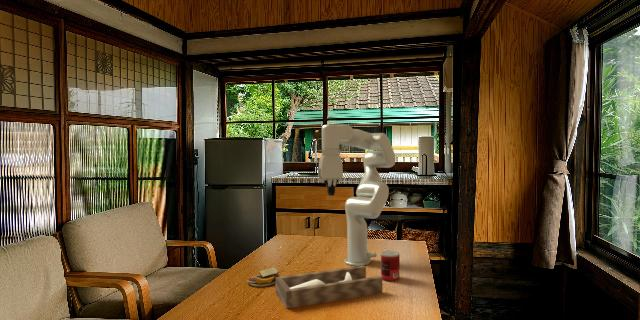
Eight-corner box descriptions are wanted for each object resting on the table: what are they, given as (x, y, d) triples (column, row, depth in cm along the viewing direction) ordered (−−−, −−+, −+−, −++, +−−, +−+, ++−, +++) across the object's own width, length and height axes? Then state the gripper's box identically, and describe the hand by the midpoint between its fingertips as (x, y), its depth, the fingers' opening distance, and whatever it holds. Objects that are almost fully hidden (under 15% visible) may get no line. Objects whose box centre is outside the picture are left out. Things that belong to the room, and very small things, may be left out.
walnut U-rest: (363, 279, 166) (363, 265, 165) (382, 293, 151) (382, 277, 150) (275, 292, 153) (275, 277, 152) (286, 308, 138) (286, 291, 137)
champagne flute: (352, 293, 150) (291, 308, 143) (345, 281, 156) (286, 294, 148) (353, 280, 147) (291, 295, 140) (346, 268, 153) (286, 281, 145)
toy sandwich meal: (246, 279, 169) (246, 268, 169) (277, 276, 172) (277, 265, 172) (248, 289, 157) (247, 277, 157) (281, 286, 160) (281, 274, 160)
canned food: (400, 276, 169) (400, 251, 169) (398, 282, 162) (398, 256, 161) (383, 274, 172) (382, 249, 171) (379, 280, 164) (379, 254, 164)
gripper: (343, 152, 176) (343, 193, 177) (311, 153, 171) (312, 195, 172) (349, 152, 169) (350, 195, 170) (317, 153, 164) (317, 197, 165)
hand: (331, 195), depth 171 cm, fingers closed
